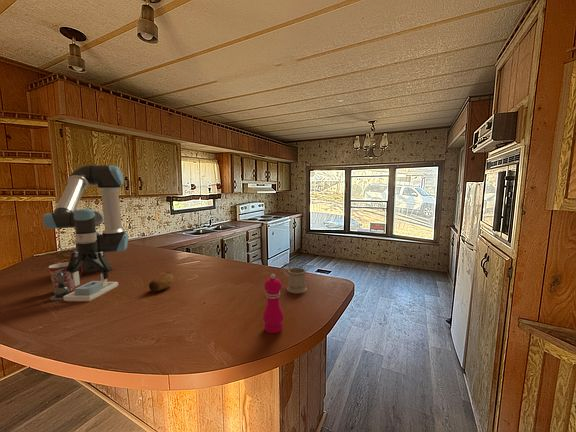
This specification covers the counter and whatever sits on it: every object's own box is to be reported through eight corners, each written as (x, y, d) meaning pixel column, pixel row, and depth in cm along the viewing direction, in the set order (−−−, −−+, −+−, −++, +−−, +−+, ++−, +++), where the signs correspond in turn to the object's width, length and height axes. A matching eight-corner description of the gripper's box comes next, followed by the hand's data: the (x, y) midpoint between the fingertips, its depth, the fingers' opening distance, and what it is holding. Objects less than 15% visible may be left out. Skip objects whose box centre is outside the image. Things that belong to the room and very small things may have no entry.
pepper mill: (263, 323, 92) (262, 271, 90) (282, 322, 92) (282, 270, 90) (263, 334, 85) (262, 277, 83) (284, 333, 85) (283, 277, 83)
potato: (156, 299, 120) (143, 290, 120) (174, 283, 132) (162, 275, 132) (161, 289, 117) (147, 280, 117) (179, 274, 129) (166, 265, 129)
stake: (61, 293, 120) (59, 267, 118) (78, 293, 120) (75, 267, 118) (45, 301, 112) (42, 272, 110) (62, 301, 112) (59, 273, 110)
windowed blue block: (89, 297, 114) (88, 288, 114) (75, 297, 114) (74, 288, 114) (107, 287, 126) (107, 279, 126) (95, 287, 126) (94, 279, 126)
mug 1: (56, 296, 116) (53, 268, 115) (48, 293, 121) (45, 266, 119) (88, 287, 127) (85, 261, 126) (79, 284, 132) (77, 259, 130)
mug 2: (310, 288, 124) (310, 265, 123) (297, 295, 117) (297, 270, 116) (289, 281, 134) (289, 260, 133) (276, 287, 127) (276, 264, 126)
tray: (95, 285, 129) (95, 281, 129) (118, 285, 129) (117, 281, 129) (63, 301, 112) (63, 296, 111) (90, 301, 111) (89, 296, 111)
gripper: (53, 243, 113) (57, 288, 116) (106, 243, 113) (110, 288, 115) (68, 240, 121) (72, 282, 123) (118, 240, 120) (121, 282, 122)
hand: (90, 285), depth 119 cm, fingers open, 13 cm apart
